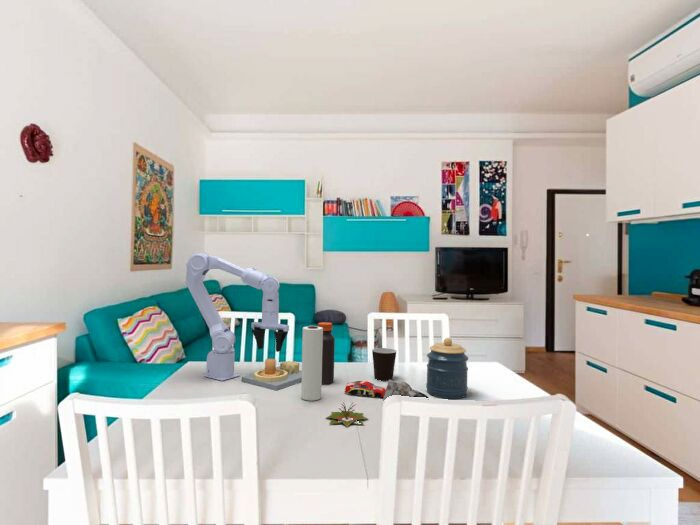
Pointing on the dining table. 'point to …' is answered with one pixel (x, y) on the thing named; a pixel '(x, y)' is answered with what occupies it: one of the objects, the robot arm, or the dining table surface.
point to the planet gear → (270, 368)
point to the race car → (365, 389)
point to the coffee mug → (383, 363)
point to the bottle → (327, 353)
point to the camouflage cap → (401, 390)
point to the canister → (447, 370)
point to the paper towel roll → (312, 363)
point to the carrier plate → (275, 384)
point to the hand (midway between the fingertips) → (269, 350)
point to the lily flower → (346, 416)
